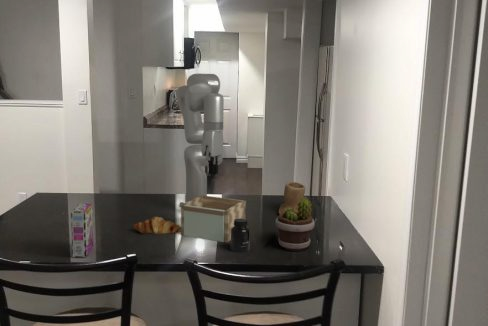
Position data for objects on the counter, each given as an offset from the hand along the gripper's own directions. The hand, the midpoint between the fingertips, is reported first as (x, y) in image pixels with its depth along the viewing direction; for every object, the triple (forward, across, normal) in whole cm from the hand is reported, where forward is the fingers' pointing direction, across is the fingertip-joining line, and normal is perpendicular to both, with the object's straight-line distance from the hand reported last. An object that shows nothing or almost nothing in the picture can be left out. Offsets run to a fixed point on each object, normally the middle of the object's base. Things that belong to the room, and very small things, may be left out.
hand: (213, 173), depth 182 cm
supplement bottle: (+25, +12, +17) cm, 33 cm away
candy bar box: (+25, +36, -33) cm, 55 cm away
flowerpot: (+25, -2, +33) cm, 42 cm away
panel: (+24, +8, 0) cm, 25 cm away
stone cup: (+25, -44, +19) cm, 54 cm away
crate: (+25, -1, 0) cm, 25 cm away
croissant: (+26, +7, -21) cm, 34 cm away
